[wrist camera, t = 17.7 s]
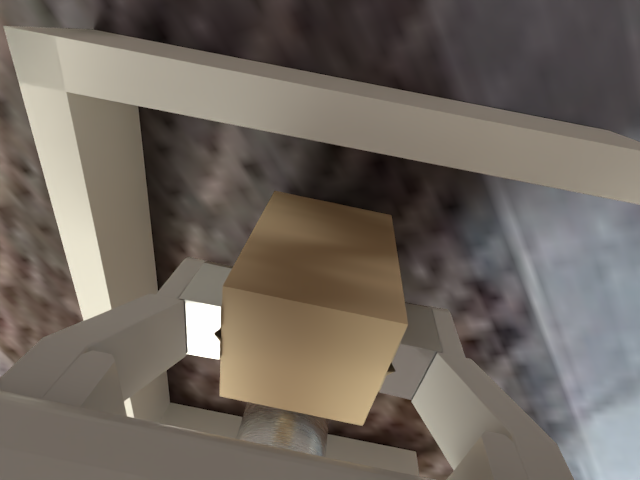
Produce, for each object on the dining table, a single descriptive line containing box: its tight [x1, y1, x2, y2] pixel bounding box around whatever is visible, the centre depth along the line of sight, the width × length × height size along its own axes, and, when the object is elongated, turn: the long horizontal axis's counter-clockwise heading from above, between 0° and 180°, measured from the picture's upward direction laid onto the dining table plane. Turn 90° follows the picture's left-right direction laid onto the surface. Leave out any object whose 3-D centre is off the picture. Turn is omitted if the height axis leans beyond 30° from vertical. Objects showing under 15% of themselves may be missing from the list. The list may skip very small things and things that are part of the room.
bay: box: [4, 26, 640, 476], centre depth 14 cm, size 16×20×3 cm
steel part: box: [236, 402, 329, 457], centre depth 15 cm, size 4×4×6 cm
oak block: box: [220, 191, 408, 426], centre depth 10 cm, size 4×4×5 cm
